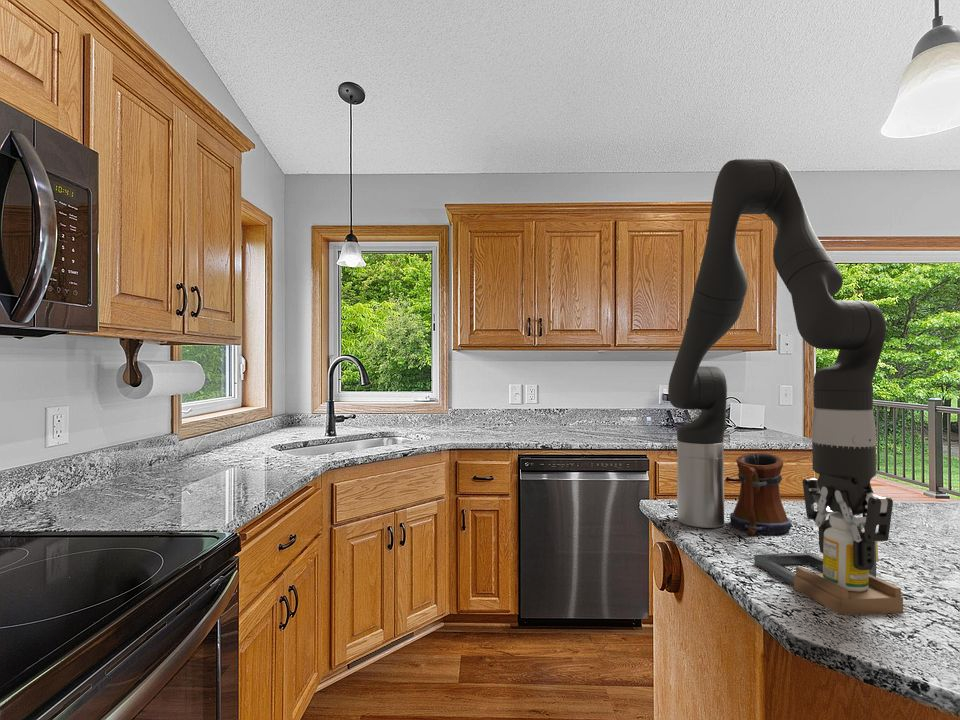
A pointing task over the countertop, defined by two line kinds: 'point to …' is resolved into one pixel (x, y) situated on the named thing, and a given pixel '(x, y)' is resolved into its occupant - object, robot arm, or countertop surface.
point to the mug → (760, 496)
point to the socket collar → (786, 563)
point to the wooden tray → (849, 594)
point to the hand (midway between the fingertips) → (844, 560)
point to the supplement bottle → (842, 556)
